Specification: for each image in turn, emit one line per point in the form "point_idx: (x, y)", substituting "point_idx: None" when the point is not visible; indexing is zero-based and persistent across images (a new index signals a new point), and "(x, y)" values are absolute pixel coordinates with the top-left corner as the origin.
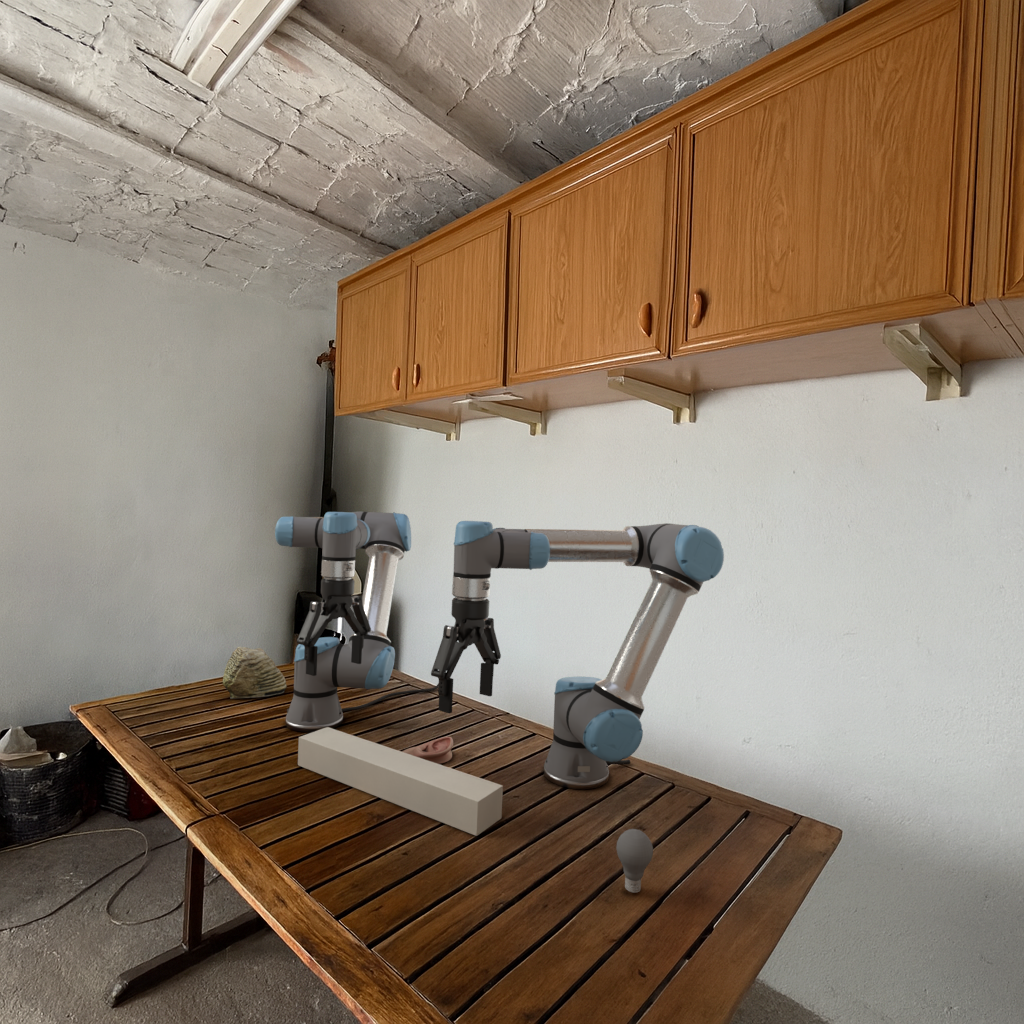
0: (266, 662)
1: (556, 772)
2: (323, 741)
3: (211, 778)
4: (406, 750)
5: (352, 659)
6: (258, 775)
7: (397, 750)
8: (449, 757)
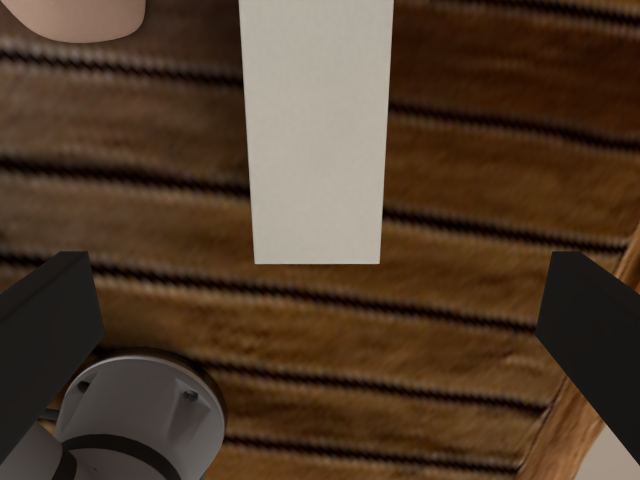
0: None
1: None
2: (356, 171)
3: None
4: (89, 6)
5: (90, 337)
6: (470, 256)
7: None
8: None
